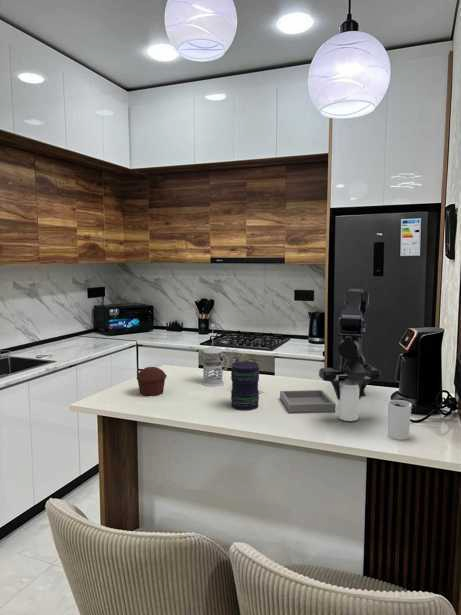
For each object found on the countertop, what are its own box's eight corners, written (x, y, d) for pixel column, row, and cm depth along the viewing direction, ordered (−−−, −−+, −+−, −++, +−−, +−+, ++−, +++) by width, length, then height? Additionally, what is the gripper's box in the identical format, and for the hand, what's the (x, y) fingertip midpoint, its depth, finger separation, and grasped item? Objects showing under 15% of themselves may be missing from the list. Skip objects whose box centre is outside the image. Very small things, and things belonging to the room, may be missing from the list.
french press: (199, 380, 197) (198, 322, 194) (225, 379, 199) (225, 321, 196) (203, 387, 187) (202, 326, 184) (231, 385, 190) (231, 325, 187)
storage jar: (263, 404, 166) (263, 363, 165) (251, 412, 158) (251, 369, 156) (238, 400, 171) (238, 360, 169) (225, 407, 162) (226, 366, 161)
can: (347, 423, 147) (348, 386, 146) (333, 416, 153) (334, 381, 151) (362, 419, 150) (363, 383, 149) (348, 413, 156) (350, 378, 154)
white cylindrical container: (381, 435, 138) (383, 402, 137) (394, 430, 142) (396, 398, 141) (401, 442, 133) (403, 408, 132) (414, 436, 137) (416, 404, 136)
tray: (322, 397, 174) (322, 389, 174) (335, 412, 158) (335, 403, 158) (279, 398, 172) (280, 390, 172) (289, 413, 157) (289, 404, 156)
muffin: (130, 394, 178) (129, 368, 177) (150, 387, 187) (150, 363, 186) (153, 399, 171) (152, 373, 170) (173, 392, 180) (172, 367, 179)
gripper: (329, 358, 140) (328, 408, 142) (389, 357, 142) (386, 406, 143) (319, 350, 151) (318, 397, 153) (374, 349, 153) (372, 395, 154)
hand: (348, 399), depth 151 cm, fingers closed on can, 6 cm apart
